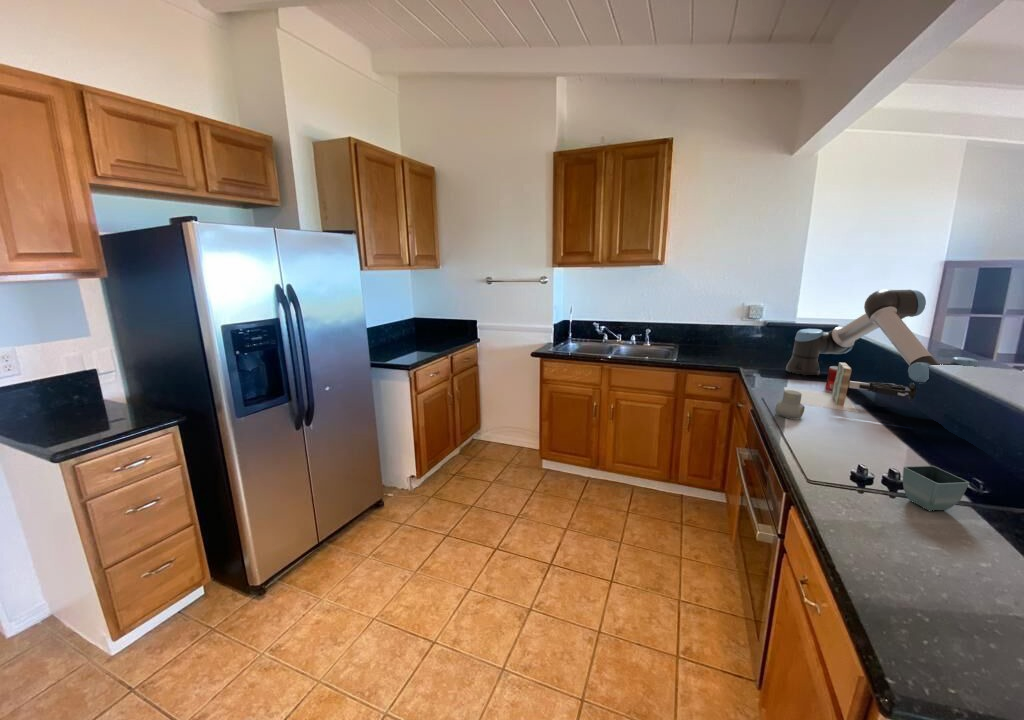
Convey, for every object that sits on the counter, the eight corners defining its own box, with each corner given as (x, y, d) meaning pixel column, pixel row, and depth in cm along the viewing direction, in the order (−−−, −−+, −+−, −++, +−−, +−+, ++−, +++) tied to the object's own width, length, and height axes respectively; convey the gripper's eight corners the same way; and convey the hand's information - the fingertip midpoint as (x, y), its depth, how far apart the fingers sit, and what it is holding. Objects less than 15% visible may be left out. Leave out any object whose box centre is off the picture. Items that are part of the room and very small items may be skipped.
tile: (831, 396, 190) (838, 362, 186) (838, 397, 189) (845, 362, 185) (836, 404, 180) (844, 368, 176) (843, 405, 179) (851, 369, 175)
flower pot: (894, 496, 113) (902, 465, 111) (924, 495, 114) (933, 465, 112) (928, 516, 104) (938, 483, 102) (960, 515, 105) (971, 482, 103)
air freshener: (780, 410, 175) (784, 386, 172) (804, 415, 169) (808, 391, 167) (772, 416, 167) (776, 392, 165) (797, 423, 162) (801, 398, 159)
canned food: (849, 393, 197) (854, 370, 194) (829, 392, 198) (834, 369, 196) (840, 388, 204) (845, 366, 201) (821, 387, 206) (826, 365, 203)
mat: (783, 388, 204) (783, 386, 203) (845, 396, 193) (845, 395, 193) (788, 403, 183) (788, 401, 183) (857, 413, 172) (858, 412, 172)
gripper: (926, 407, 166) (850, 397, 176) (914, 397, 177) (844, 388, 188) (931, 388, 164) (854, 379, 174) (918, 380, 175) (847, 372, 186)
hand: (849, 384), depth 181 cm, fingers closed
